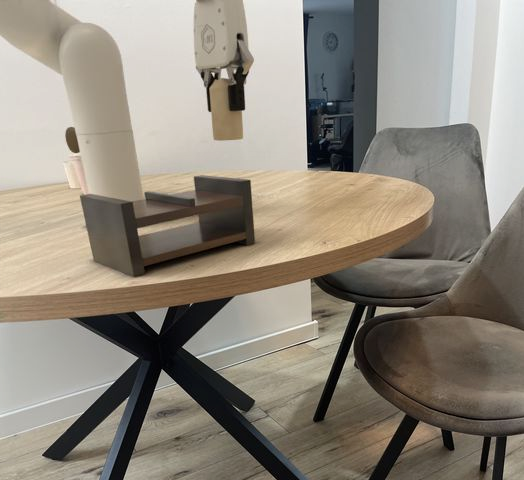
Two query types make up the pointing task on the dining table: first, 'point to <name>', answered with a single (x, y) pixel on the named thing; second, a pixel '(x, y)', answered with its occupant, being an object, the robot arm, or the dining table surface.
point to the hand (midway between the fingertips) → (226, 110)
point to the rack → (163, 210)
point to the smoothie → (79, 171)
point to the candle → (224, 113)
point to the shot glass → (71, 175)
